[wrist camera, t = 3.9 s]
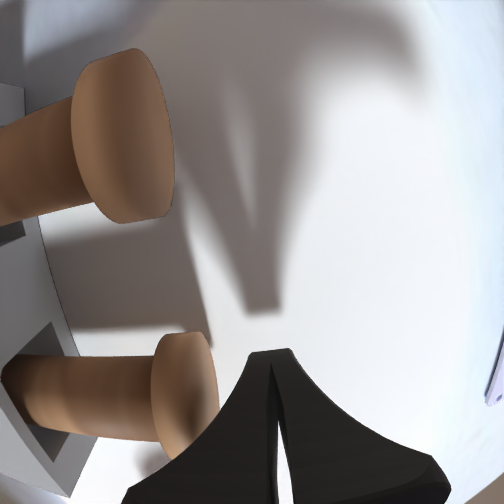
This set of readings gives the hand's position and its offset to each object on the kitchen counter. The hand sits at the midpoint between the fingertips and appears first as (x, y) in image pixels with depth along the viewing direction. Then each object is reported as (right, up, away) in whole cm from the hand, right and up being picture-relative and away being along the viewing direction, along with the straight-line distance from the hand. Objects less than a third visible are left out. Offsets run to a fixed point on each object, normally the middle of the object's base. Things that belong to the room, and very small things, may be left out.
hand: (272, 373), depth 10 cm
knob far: (-6, 0, +1) cm, 6 cm away
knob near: (-7, +7, -1) cm, 10 cm away
